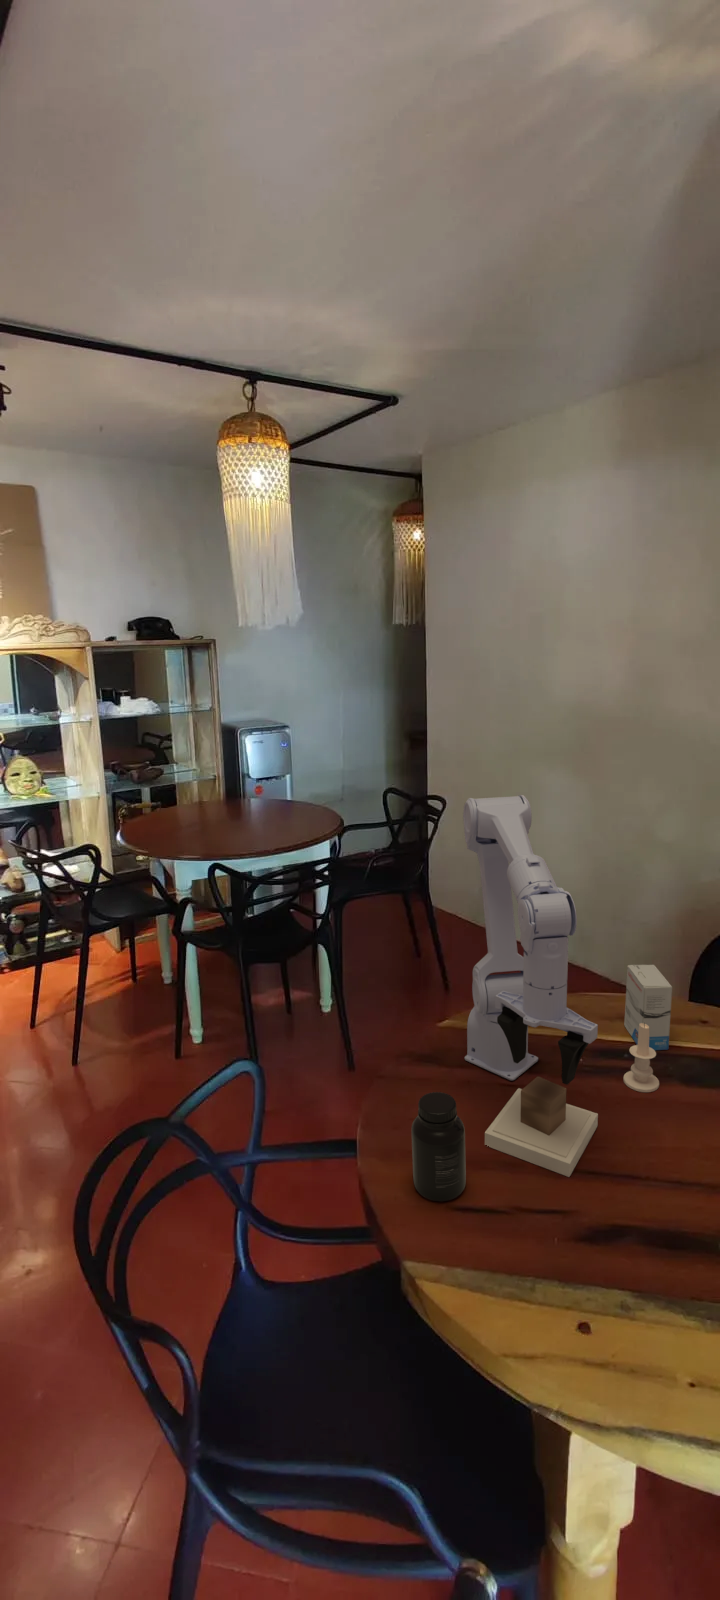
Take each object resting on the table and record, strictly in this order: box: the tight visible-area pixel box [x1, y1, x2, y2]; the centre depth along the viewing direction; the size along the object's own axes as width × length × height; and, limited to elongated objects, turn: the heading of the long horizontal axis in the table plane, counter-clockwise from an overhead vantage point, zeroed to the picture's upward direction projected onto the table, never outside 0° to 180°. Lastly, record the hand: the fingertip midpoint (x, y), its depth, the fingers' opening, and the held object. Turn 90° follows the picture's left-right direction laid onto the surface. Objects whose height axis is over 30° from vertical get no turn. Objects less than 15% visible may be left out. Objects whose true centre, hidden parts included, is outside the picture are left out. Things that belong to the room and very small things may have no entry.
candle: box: [623, 1022, 660, 1093], centre depth 117 cm, size 5×5×10 cm
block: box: [520, 1075, 567, 1136], centre depth 106 cm, size 4×4×5 cm
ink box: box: [624, 964, 673, 1051], centre depth 130 cm, size 8×5×12 cm, turn 179°
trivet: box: [484, 1087, 599, 1178], centre depth 107 cm, size 12×12×2 cm
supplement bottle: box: [410, 1091, 467, 1202], centre depth 98 cm, size 7×7×12 cm
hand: (543, 1070), depth 105 cm, fingers open, 7 cm apart
